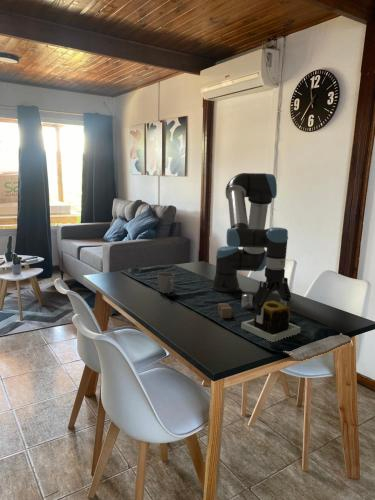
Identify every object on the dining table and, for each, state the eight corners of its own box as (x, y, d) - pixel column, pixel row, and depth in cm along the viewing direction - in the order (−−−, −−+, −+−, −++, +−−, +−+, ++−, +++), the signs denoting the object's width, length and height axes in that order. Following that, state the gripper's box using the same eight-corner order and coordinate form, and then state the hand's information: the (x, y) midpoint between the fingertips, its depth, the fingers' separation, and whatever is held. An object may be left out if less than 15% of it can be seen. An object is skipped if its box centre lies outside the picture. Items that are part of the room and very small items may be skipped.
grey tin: (239, 306, 176) (239, 294, 175) (246, 304, 179) (247, 292, 178) (246, 309, 172) (247, 297, 171) (254, 307, 175) (254, 295, 174)
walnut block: (217, 312, 168) (218, 303, 167) (227, 312, 168) (227, 303, 167) (221, 318, 161) (221, 308, 160) (231, 318, 162) (231, 308, 161)
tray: (241, 328, 150) (241, 322, 150) (268, 319, 160) (268, 314, 160) (272, 342, 138) (273, 336, 137) (300, 333, 147) (300, 327, 147)
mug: (154, 290, 196) (154, 273, 194) (168, 288, 201) (169, 271, 199) (165, 297, 186) (165, 278, 184) (180, 294, 191) (180, 276, 189)
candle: (269, 336, 142) (271, 311, 140) (252, 326, 151) (254, 303, 149) (289, 331, 147) (291, 307, 145) (271, 322, 156) (273, 299, 154)
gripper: (260, 274, 134) (256, 329, 138) (303, 265, 148) (298, 315, 153) (245, 269, 140) (242, 322, 144) (287, 262, 154) (283, 310, 158)
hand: (271, 319), depth 148 cm, fingers open, 13 cm apart
